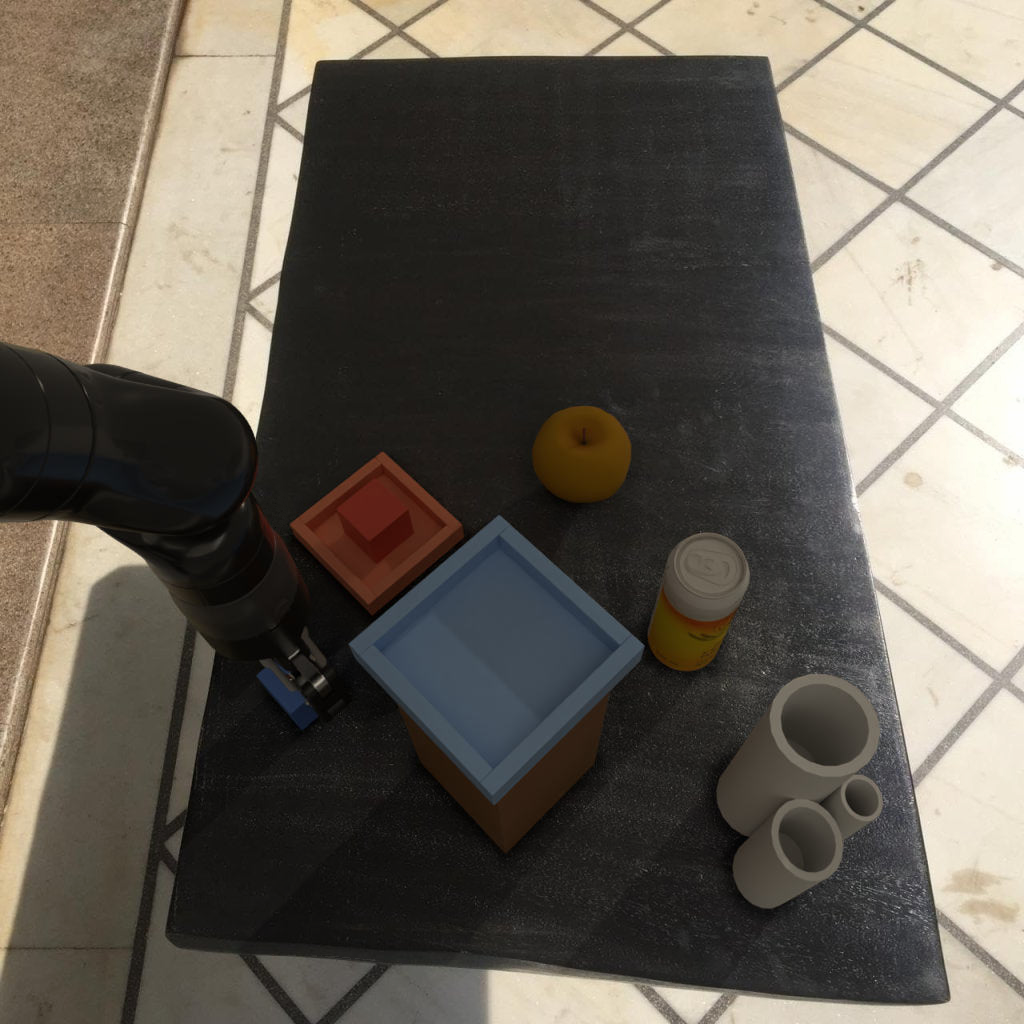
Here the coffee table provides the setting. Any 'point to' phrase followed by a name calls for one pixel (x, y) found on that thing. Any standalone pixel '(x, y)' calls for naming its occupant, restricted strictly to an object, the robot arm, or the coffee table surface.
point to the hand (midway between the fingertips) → (294, 667)
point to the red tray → (401, 565)
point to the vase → (800, 787)
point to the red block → (375, 520)
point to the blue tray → (500, 677)
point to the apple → (582, 454)
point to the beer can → (697, 600)
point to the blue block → (287, 698)
